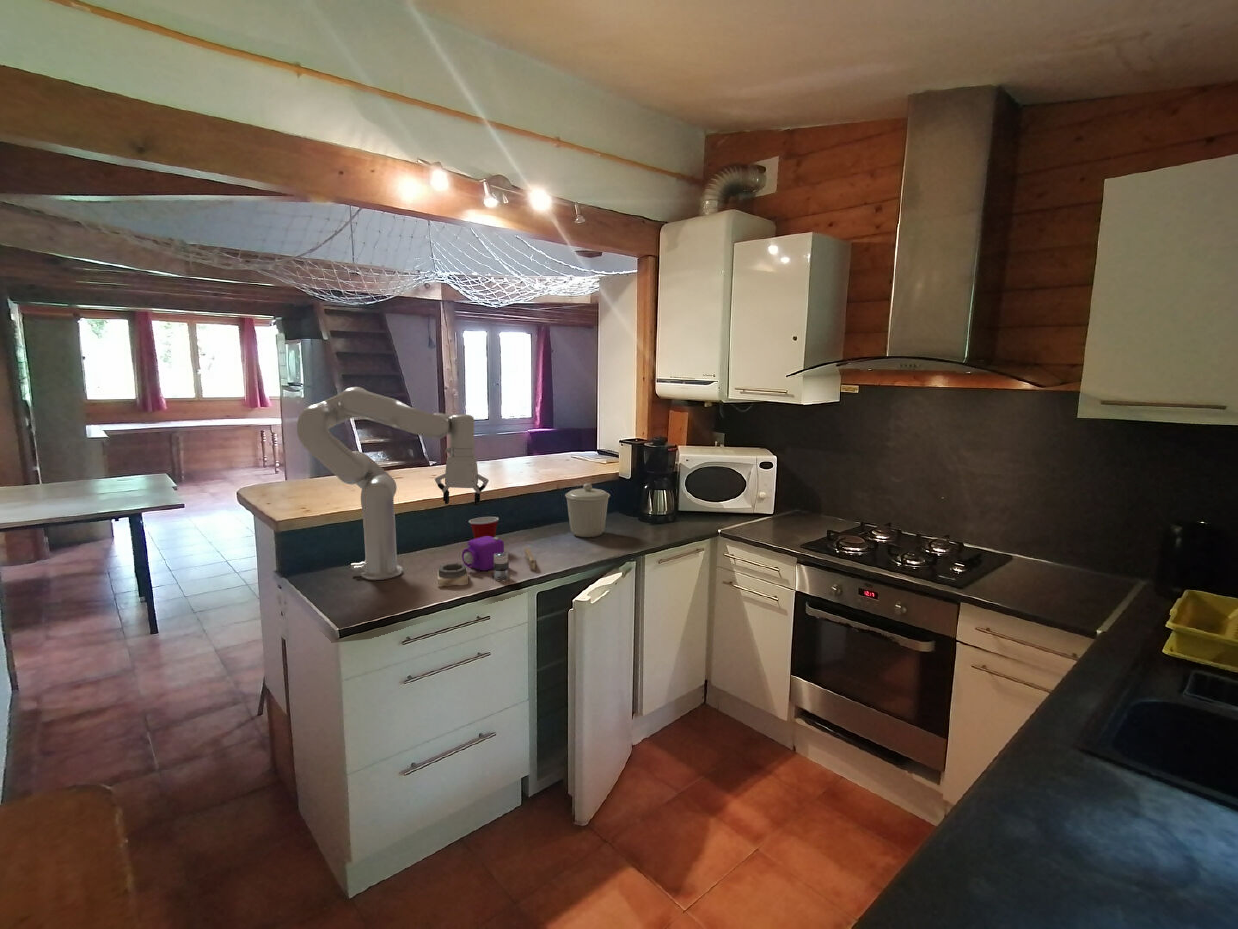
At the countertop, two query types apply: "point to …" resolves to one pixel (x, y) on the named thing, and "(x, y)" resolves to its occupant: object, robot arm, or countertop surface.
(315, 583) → the countertop surface
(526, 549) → the rail
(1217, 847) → the countertop surface
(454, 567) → the mount
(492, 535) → the plastic cup
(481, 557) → the toy camera
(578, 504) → the canister
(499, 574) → the lens
